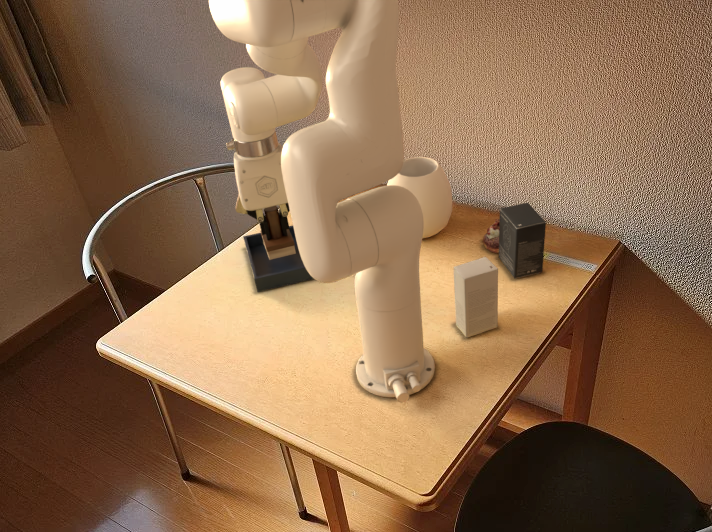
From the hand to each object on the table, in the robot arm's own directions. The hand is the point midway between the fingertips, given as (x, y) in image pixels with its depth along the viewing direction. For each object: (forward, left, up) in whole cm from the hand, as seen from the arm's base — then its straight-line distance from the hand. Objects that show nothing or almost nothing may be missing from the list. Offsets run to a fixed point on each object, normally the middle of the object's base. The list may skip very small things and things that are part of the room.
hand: (276, 233), depth 142 cm
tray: (-1, 0, -6) cm, 6 cm away
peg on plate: (0, 0, -3) cm, 3 cm away
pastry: (-12, -42, -6) cm, 44 cm away
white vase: (0, -29, -6) cm, 29 cm away
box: (-20, -42, -6) cm, 47 cm away
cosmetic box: (-34, -28, -6) cm, 44 cm away
